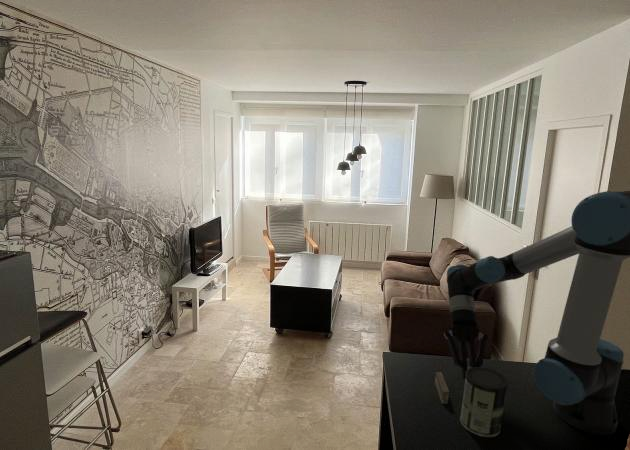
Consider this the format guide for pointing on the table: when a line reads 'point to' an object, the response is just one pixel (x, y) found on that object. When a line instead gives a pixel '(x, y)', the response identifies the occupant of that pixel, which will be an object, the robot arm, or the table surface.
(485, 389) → the coffee can
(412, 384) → the table surface
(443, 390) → the chute
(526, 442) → the table surface
